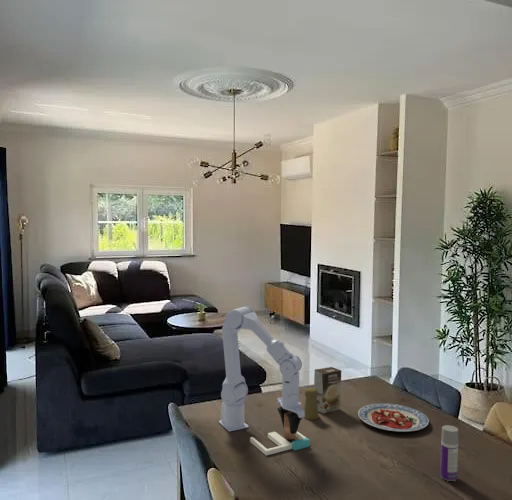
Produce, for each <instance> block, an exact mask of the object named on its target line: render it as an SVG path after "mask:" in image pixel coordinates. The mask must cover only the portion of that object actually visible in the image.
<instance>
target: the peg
mask: <svg viewBox="0 0 512 500" xmlns="http://www.w3.org/2000/svg"><path fill="white" fill-rule="evenodd" d="M290 413H292V412H286V413H284V428H283V438H284V439H286V440H292V441H293V440H295V439H296V438H297V437H296V433H295V434H291V433H290V424H289V419H288V417H287V414H290Z"/></svg>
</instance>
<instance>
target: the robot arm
mask: <svg viewBox="0 0 512 500" xmlns="http://www.w3.org/2000/svg"><path fill="white" fill-rule="evenodd" d="M221 328H222V329H221V330H222V331H221V332H222V343H223V354H224V367H225V368H224V369H225V379H224V380H223V382H222V384H221V386H222V389H221V392H220V397H221V401H222V403H221V404H220V405H221V406H220V420H219V421H218V423H219V424H220V425H221V426H222V427H223V428H225V429H226V431H228V432H233V431H239V430H243V429H247V428H248V429H249V425H248V424H247V423H245V399H246V396H247V395H248V392H249V389H248V385H247V384H246V379H245V377H244V376H243V375H242V371H241V369H242V368H241V361H240V360H241V359H240V346H239V337H238V333H239V332H240V330H250V331H252V332H253V334H254V335H255V336H256V337H258V339H259V340H260V341H262V343H263V344H264V345H266V352H267V353H268V354H269V356H271V357H272V359H273V360H274V361H275V362H276V363H277V364H278V365H279V372H280V373H281V375H282V377H281V378H282V380H281V381H282V382H281V384H282V385H281V387H282V388H281V390H282V392H281V395H282V396H281V397H277V398H276V404H277V405H280V407H277V412H278V414H279V416H280V419H281V422H282V423H281V424H282V428H283V429H284V413H286V412H292V413H290V414H287V417H288V419H289V424H290V433H291V434H295V433H297V432H298V429H299V425H300V423H301V421H302V419H303V418H304V417H305V411H304V409H303V408H302V402H300V400H299V399H300V371H301V369H302V367H303V362H302V360H301V358H300V357H299V356H298V355H295V354H293V353H292V352H290V350H289V349H287V347H286V346H285V343H284V342H283V341H281V340H279V339H275V338H274V337H273V336H272V334H271V333H270V332H269V330H267V328H266V327H265V326H264V324H263V323H262V321H260V320H259V317H258V315H257V313H256V312H255V311H254V310H253V309H252V308H251V307H250V306H248V305H244V306H242V307H237V308H235V309H231V310H229V311H228V312H227V313H226V314H225V315H224V322H223V325H222V327H221Z"/></svg>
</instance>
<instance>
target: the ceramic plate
mask: <svg viewBox="0 0 512 500" xmlns="http://www.w3.org/2000/svg"><path fill="white" fill-rule="evenodd" d="M357 414H358V415H357V416H358V417H359V419H360V420H361V421H362V422H364V423H365V424H367V425H369V426H371V427H374V428H377V429H380V430H384V431H391V432H399V433H400V432H401V433H402V432H403V433H406V432H415V431H420V430H423V429H424V428H427V426H428V425H429V423H430V421H429V420H430V419H429V418H428V417H427V415H426V414H425V413H424V412H422V411H420V410H417V409H416V408H413V407H409V406H405V405H401V404H398V403H397V404H395V403H381V402H380V403H371V404H367V405H364V406H363V407H361V408H359V410H358V412H357ZM407 416H408V418H407Z"/></svg>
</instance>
